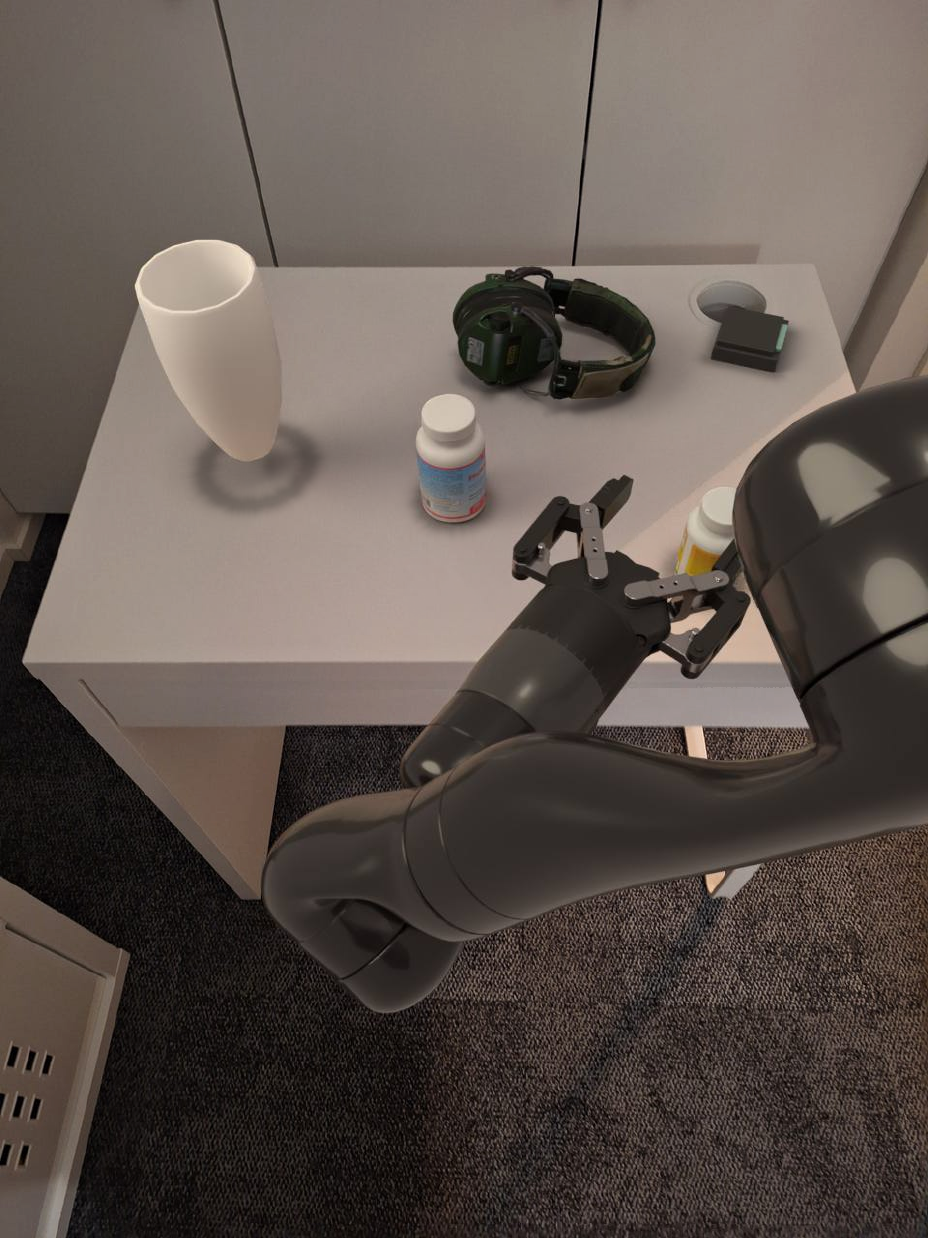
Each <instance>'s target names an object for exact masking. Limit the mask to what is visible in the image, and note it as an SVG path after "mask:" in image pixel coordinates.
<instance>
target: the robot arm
mask: <svg viewBox="0 0 928 1238" xmlns="http://www.w3.org/2000/svg"><path fill="white" fill-rule="evenodd" d="M634 481H635V480H634V478H632V477H630V476H628V475H626V474H623V475H622V476H620V478H619V479H617V478H615V477H613V478H611V479H609V480H607V481H606V482H605V483H604V484H603V485H602V487H600V489H598V491H597V492H596V493H594V495H593V497H592V498H591V499H590V500H589V501H588V502H583V503H582V504H576V503H575V504H574V503H571V502H570V500H569V498H567V497H566V496H563V495H557V496H554V497H553V498H552V499H551V500H550V501H549V503H548V504H547V505H546V507H545V508H543V510H542V511H541V512H540V514H539V515H538V516H537V517H536V518H535V520H534V521H533V522H532V524H531V525H530V526H529V527H528V528H527V530H526V531H525V532H524V533H523V535H522V536H521V537H520V538H519V540H518V541H517V542H516V543H515V544H514V546H513V549H512V551H513V552H512V559H511V576H512V577H513V579H514V580H516V581H521V582H522V581H526V580H527V579H529V578H531V579H532V580H535V581H537V582H538V583H541V584H542V585H544V586H543V588H541V589H540V590H539V591H538V592H537V593H536V594H535V595H534V597H533V598H532V599H531V600H530V601H529V603H528V604H526V606H525V607H524V608H523V609H522V610H521V611H520V613H519V614H518V615H517V616H516V617H515V618H514V619H513V620H512V621H511V623H510V624H509V625H508V626H507V627H506V629H505V630H503V632H502V633H501V635H499V637H498V638H497V639H496V640H495V641H494V642H493V644H492V645H490V647H489V648H488V649H487V650H486V651H485V653H484V654H483V655H482V656H481V657H480V658H479V659H478V661H477V662H476V663H475V665H474V666H473V667H472V669H471V670H470V672H469V673H468V675H467V677H466V678H465V679H464V681H463V682H462V684H461V686H460V687H459V689H457V691H456V692H455V694H454V695H453V696H452V697H451V698H450V699H449V701H447V703H446V704H445V705H444V706H443V707H442V708H441V710H440V711H439V712H438V713H437V714H436V715H435V717H433V719H432V720H431V721H430V722H429V723H428V725H426V727H425V728H424V729H423V730H422V731H421V732H420V734H419V735H418V736H417V737H416V738H415V739H414V740H413V742H412V743H411V744H410V746H409V747H408V748H407V749H406V751H405V752H404V754H403V756H402V757H401V759H400V762H399V765H398V777H399V781H400V784H401V787H402V788H399V789H394V790H387V791H386V790H385V791H379V792H369V793H364V794H358V795H357V794H356V795H352V796H348V797H343V798H340V799H337V800H334V801H331V802H328V803H326V804H323V805H321V806H319V807H317V808H314V809H313V810H311V811H310V812H308V813H306V814H305V815H303V816H302V817H300V818H299V819H297V820H296V821H295V822H294V823H292V824H291V825H290V826H289V827H288V828H287V829H286V830H285V831H283V833H282V834H281V835H280V836H279V837H278V839H277V840H276V841H275V843H274V844H273V845H272V847H271V848H270V850H269V852H268V854H267V856H266V859H265V861H264V864H263V867H262V870H261V877H260V892H261V899H262V902H263V906H264V909H265V911H266V912H267V914H268V916H269V917H270V918H271V920H272V921H273V923H274V924H275V925H276V926H277V927H278V928H279V929H280V930H281V931H282V932H283V933H284V934H286V936H287V937H288V938H289V939H291V940H292V941H293V942H294V943H295V944H296V946H298V947H299V948H300V949H301V950H302V951H303V952H304V953H306V954H307V955H308V956H309V957H310V958H311V959H312V960H313V961H314V962H315V963H316V964H317V965H318V966H319V967H320V968H321V969H323V971H325V973H327V974H328V975H329V977H331V978H332V979H333V980H334V981H335V982H336V983H337V984H338V985H339V986H340V987H341V988H342V989H343V990H344V991H346V993H348V995H350V997H352V998H353V999H354V1000H355V1001H356V1002H357V1003H359V1004H360V1005H361V1006H363V1007H365V1008H366V1009H367V1010H369V1011H371V1012H375V1013H378V1014H393V1013H396V1012H401V1011H405V1010H407V1009H409V1008H411V1007H413V1006H415V1005H417V1004H418V1003H420V1002H422V1001H423V1000H424V999H425V998H427V997H428V996H430V995H431V994H432V993H433V992H434V991H435V990H436V989H437V988H438V986H439V985H440V984H441V983H442V982H443V981H444V979H445V978H446V977H447V975H448V974H449V972H450V971H451V969H452V968H453V966H454V964H455V962H456V960H457V958H458V957H459V955H460V953H461V950H462V948H463V945H464V943H465V942H472V941H477V940H480V939H483V938H487V937H490V936H493V935H495V934H497V933H500V932H503V931H505V930H508V929H512V928H514V927H516V926H519V925H521V924H524V923H527V922H530V921H532V920H535V919H537V918H539V917H542V916H545V915H548V914H551V913H553V912H556V911H558V910H561V909H564V908H566V907H568V906H572V905H575V904H578V903H581V902H585V901H587V900H591V899H595V898H598V897H601V896H605V895H609V894H613V893H617V892H622V891H627V890H631V889H635V888H636V889H637V888H642V887H646V886H651V885H657V884H662V883H668V882H669V883H670V882H675V881H680V880H687V879H691V878H697V877H702V876H707V875H713V874H718V873H724V872H729V871H732V870H738V869H743V868H748V867H752V866H757V865H762V864H767V863H770V862H771V863H772V862H775V861H780V860H784V859H789V858H793V857H797V856H801V855H806V854H810V853H811V854H812V853H816V852H820V851H825V850H828V849H833V848H837V847H841V846H845V845H850V844H854V843H859V842H863V841H867V840H871V839H876V838H877V839H878V838H880V837H885V836H889V835H893V834H897V833H901V832H905V831H909V830H914V829H917V828H921V827H926V826H928V374H923V375H919V376H918V375H917V376H910V377H904V378H901V379H897V380H893V381H890V382H886V383H882V384H879V385H874V386H872V387H871V386H870V387H868V388H865V389H862V390H860V391H857V392H854V393H852V394H849V395H847V396H845V397H843V398H839V399H837V400H834V401H832V402H830V403H828V404H825V405H822V406H820V407H819V408H817V409H815V410H814V411H811V412H810V413H808V414H806V415H804V416H802V417H800V418H798V419H797V420H794V422H792V423H791V424H789V425H788V426H787V427H785V428H783V430H782V431H781V432H779V433H778V434H776V435H775V436H773V438H772V439H769V441H767V442H766V444H765V445H764V446H763V447H762V448H761V449H760V450H759V451H758V452H757V453H756V454H755V455H754V457H753V458H752V459H751V461H750V462H749V464H747V467H746V469H745V471H744V473H743V475H742V477H741V479H740V480H739V483H738V485H737V487H736V493H735V497H734V503H733V510H732V526H733V533H734V539H733V540H732V541H731V543H730V544H729V545H728V547H727V548H726V549H725V551H724V552H723V553H722V555H721V556H720V557H719V559H718V560H717V561H716V562H715V564H714V565H713V567H712V570H711V572H707V573H703V574H699V575H694V576H690V575H689V574H688V573H683V574H679V575H675V574H674V575H670V576H667V577H662V578H661V577H660V572H659V571H657V570H655V569H653V568H651V567H650V566H647V565H643V564H641V563H637V562H635V560H633V559H632V558H631V557H629V556H628V555H627V554H625V553H623V552H621V551H619V550H618V549H616V550H615V551H614V552H612V551H605V550H606V549H605V542H604V533H603V531H604V529H605V528H606V527H607V526H608V525H609V524H610V522H611V521H612V520H613V519H614V517H615V516H616V515H617V514H618V513H619V512H620V511H621V510H622V508H623V507H624V506H625V505H626V503H628V502H629V499H630V497H631V494H632V491H633V486H634ZM565 532H569V533H573V534H575V539H576V547H577V557H575V558H572V559H568V560H563V561H560V562H557V563H555V564H554V565H551V563H550V559H551V550H552V549H553V548H554V546H555V544H557V542H558V541H559V539H561V537H562V535H563V534H564V533H565ZM742 573H743V576H744V577H743V578H744V580H745V582H746V584H747V587H748V590H749V592H750V595H751V596H750V595H749V594H748V593H747V592H745V591H742V590H737V589H736V588H735V587H734V585H735V583H736V581H737V579H738V578H739V577H740V576H741V574H742ZM734 582H735V583H734ZM733 584H734V585H733ZM751 597H752V599H753V602H754V604H755V607H756V608H757V610H758V611H759V614H760V616H761V618H762V621H763V623H764V625H765V628H766V631H767V633H768V635H769V637H770V639H771V641H772V644H773V646H774V649H775V651H776V653H777V656H778V658H779V660H780V663H781V665H782V667H783V670H784V673H785V674H786V677H787V679H788V681H789V684H790V686H791V688H792V690H793V693H794V695H795V697H796V699H797V702H798V703H799V708H800V709H801V712H802V714H803V717H804V720H805V721H806V724H807V726H808V728H809V730H810V733H811V736H812V742H811V744H809V745H806V746H803V747H800V748H797V749H794V750H793V749H792V750H790V751H786V752H782V753H779V754H775V755H770V756H765V757H764V756H763V757H758V758H750V759H749V758H748V759H733V760H731V759H729V760H725V759H723V760H722V759H713V758H705V757H699V756H692V755H685V754H677V753H672V752H667V751H664V750H658V749H654V748H649V747H646V746H641V745H639V744H638V745H637V744H633V743H630V742H626V741H622V740H617V739H614V738H610V737H606V736H600V735H595V734H592V733H593V732H594V730H595V729H596V727H597V726H598V723H599V722H600V719H601V718H602V716H603V715H604V714H605V712H606V711H607V710H608V708H609V707H610V706H611V705H612V703H613V701H614V700H615V699H616V698H617V696H618V695H619V694H620V692H621V691H622V689H624V688H625V686H626V684H627V683H628V682H629V680H631V678H632V677H633V675H634V674H635V672H636V671H637V670H638V669H639V667H640V666H641V665H642V663H643V662H644V661H645V660H646V659H647V658H648V657H650V656H651V655H654V654H656V653H659V652H662V653H663V654H665V655H666V656H668V657H669V658H671V659H673V660H674V661H676V662H677V663H679V664H680V670H679V671H680V673H681V675H682V676H683V678H686V679H688V680H695V679H698V678H699V677H700V676H701V674H702V673H703V672H704V671H705V670H706V668H707V667H708V666H709V665H710V664H711V662H712V661H713V660H714V659H715V657H716V656H717V655H718V654H719V653H720V652H721V650H722V649H723V648H724V647H725V645H726V644H727V643H728V642H729V640H730V639H731V638H732V637H733V636H734V634H735V633H736V632H737V631H738V630H739V628H740V627H741V625H742V623H743V620H744V619H745V617H746V614H747V612H748V609H749V606H750V604H751V601H752V599H751ZM668 600H669V601H668ZM710 610H714V611H715V613H714V614H713V616H711V618H710V619H709V620H707V623H706V624H705V625H704V626H703V627H702V628H701V629H699V628H698V627H692V629H687V630H686V631H685V632H683V633H681V634H676V633H672V624H675V623H678V622H682V621H684V620H686V619H687V618H689V617H690V616H691V615H694V614H698V613H702V612H706V611H710Z"/></svg>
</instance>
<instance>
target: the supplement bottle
mask: <svg viewBox="0 0 928 1238" xmlns="http://www.w3.org/2000/svg"><path fill="white" fill-rule="evenodd" d="M736 489H737V487H736V488H735V487H732V486H716V487H714V488H711V489H710V490H708V491H706V492H705V494H704V495H703V497H702V499H701V502H700V504H699V505H697V506H696V507H695V508H693V510H692V511H691V512H690V514H689V516H688V517H687V521H686V524H685V527H684V529H683V534H682V538H681V541H680V545H679V549H678V552H677V556H676V559H675V563H674V576H675V575H679V574H683V573H688V574H689V575H690V576H694V575H699V574H703V573H707V572H711V570H712V567H713V565H714V564H715V562H716V561H717V560H718V559H719V557H720V556H721V555H722V553H723V552H724V551H725V549H726V548H727V547H728V545H729V544H730V543H731V541H732V540H733V539H734V533H733V526H732V510H733V503H734V497H735V493H736ZM735 583H736V581H735V582H734V584H733V586H734V585H735Z"/></svg>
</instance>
